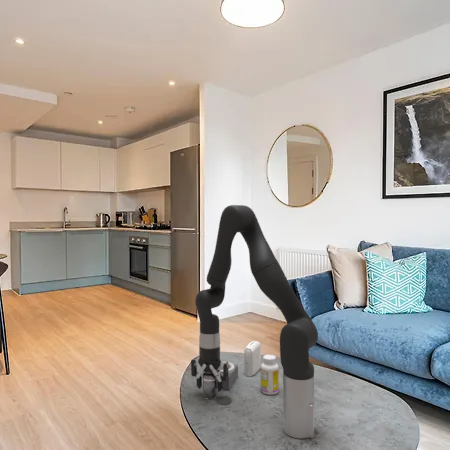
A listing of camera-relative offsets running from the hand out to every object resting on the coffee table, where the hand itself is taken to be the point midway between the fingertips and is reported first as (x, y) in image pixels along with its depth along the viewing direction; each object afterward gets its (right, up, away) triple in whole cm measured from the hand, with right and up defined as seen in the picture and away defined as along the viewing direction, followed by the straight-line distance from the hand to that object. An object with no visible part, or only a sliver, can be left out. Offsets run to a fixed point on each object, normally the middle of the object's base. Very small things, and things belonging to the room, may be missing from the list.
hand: (209, 389), depth 132 cm
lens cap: (+5, -3, -4) cm, 7 cm away
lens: (0, -2, 0) cm, 2 cm away
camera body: (+5, -2, +11) cm, 12 cm away
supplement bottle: (+22, -3, +3) cm, 23 cm away
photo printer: (+17, -2, +21) cm, 27 cm away
